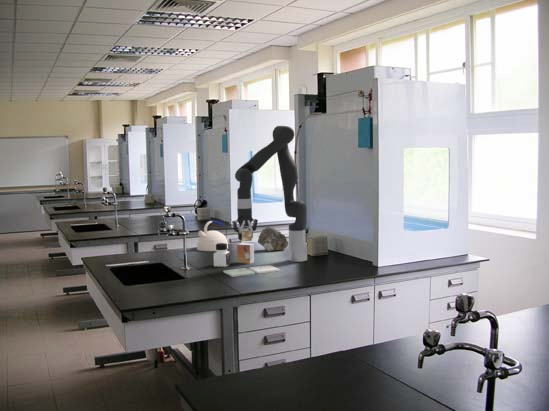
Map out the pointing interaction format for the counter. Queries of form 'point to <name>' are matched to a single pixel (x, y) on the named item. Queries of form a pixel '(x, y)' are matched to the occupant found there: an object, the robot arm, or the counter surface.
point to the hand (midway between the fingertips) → (245, 239)
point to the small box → (245, 253)
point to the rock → (272, 239)
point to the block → (246, 235)
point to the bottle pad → (239, 272)
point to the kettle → (210, 238)
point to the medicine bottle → (221, 255)
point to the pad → (264, 269)
